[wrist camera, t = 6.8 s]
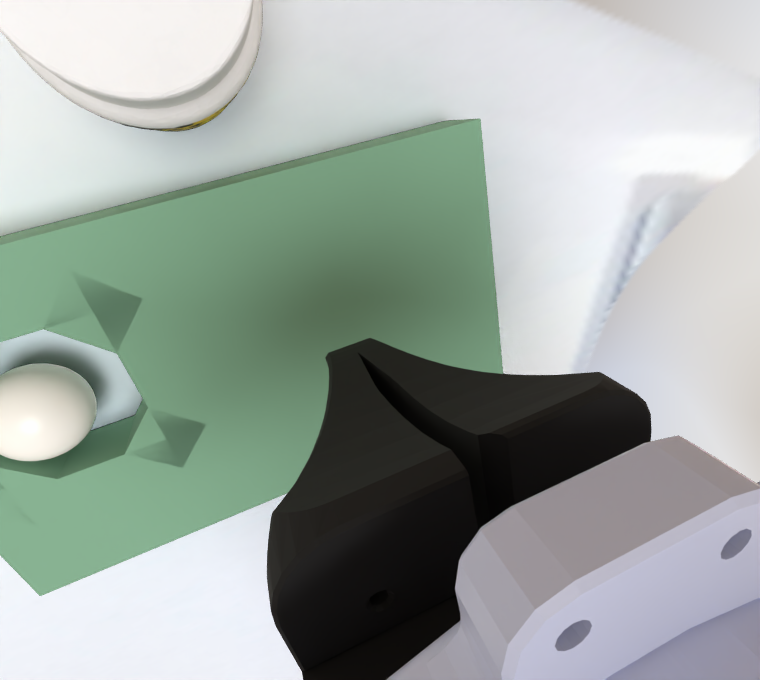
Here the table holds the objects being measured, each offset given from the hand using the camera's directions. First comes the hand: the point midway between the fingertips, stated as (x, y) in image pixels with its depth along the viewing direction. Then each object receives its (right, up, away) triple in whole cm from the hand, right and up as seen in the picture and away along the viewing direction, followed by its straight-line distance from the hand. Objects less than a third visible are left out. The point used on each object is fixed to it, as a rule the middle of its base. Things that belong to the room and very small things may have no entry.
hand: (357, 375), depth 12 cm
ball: (-11, -1, +3) cm, 11 cm away
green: (-5, +1, +6) cm, 7 cm away
